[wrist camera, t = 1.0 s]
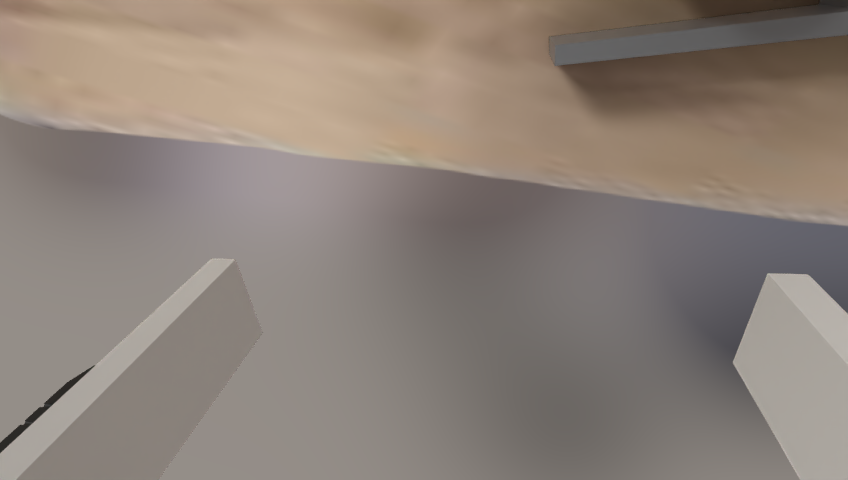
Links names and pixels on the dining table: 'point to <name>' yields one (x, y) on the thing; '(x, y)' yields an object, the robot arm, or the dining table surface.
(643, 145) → the dining table surface
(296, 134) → the dining table surface
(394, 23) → the dining table surface
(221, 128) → the dining table surface
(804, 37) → the grey rectangular frame
